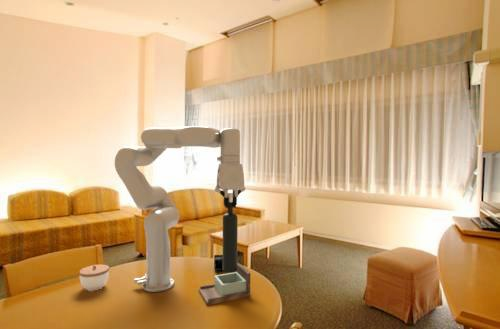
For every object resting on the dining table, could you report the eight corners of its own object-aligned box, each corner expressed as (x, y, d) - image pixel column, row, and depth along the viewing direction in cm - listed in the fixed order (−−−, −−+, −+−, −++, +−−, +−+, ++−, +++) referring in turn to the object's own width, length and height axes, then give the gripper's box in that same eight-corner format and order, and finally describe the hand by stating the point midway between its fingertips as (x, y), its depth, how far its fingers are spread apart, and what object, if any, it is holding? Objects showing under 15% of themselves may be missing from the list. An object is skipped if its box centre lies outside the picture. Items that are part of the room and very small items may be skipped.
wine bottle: (226, 273, 110) (226, 194, 110) (220, 268, 115) (220, 192, 115) (239, 270, 113) (240, 193, 113) (233, 265, 118) (233, 192, 118)
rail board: (207, 305, 105) (207, 280, 104) (198, 291, 116) (198, 268, 115) (250, 296, 111) (250, 273, 111) (238, 284, 122) (238, 262, 122)
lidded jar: (82, 296, 111) (82, 272, 111) (76, 287, 119) (76, 264, 119) (112, 288, 118) (112, 265, 118) (105, 280, 126) (105, 258, 126)
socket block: (222, 297, 108) (222, 285, 108) (214, 286, 117) (214, 275, 117) (246, 292, 112) (246, 280, 112) (236, 282, 121) (237, 271, 121)
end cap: (235, 266, 143) (235, 253, 142) (235, 272, 136) (235, 257, 135) (214, 267, 142) (214, 253, 142) (213, 272, 135) (213, 258, 135)
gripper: (213, 160, 107) (213, 210, 107) (252, 160, 113) (252, 207, 114) (207, 160, 114) (207, 207, 114) (245, 160, 120) (245, 204, 121)
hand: (230, 206), depth 114 cm, fingers closed on wine bottle
